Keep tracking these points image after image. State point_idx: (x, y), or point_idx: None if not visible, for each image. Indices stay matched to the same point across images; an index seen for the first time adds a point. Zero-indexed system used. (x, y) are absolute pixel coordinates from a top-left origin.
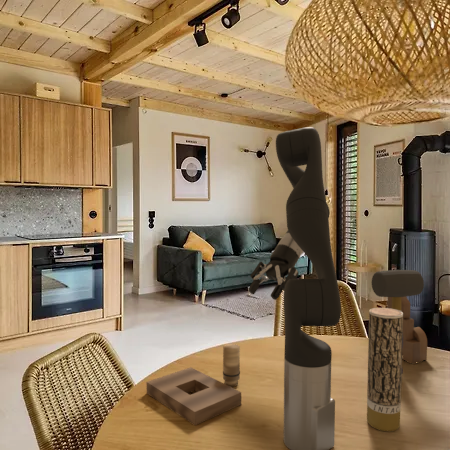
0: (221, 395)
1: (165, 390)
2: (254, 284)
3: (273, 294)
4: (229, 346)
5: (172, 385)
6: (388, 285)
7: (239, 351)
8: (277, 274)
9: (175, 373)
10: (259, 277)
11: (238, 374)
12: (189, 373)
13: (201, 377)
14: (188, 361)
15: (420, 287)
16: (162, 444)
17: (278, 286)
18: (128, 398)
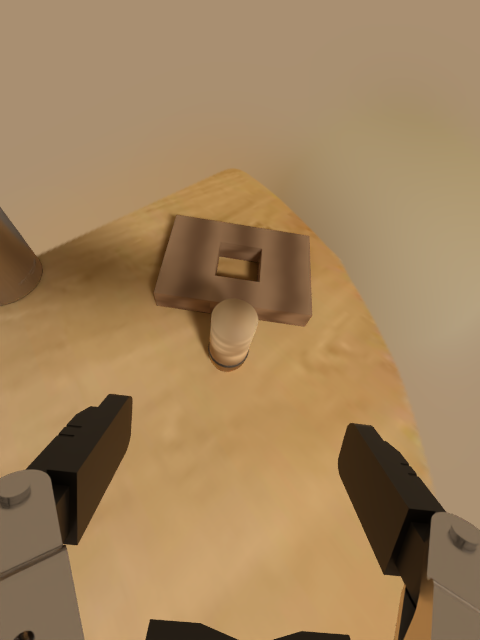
0: (176, 265)
1: (261, 232)
2: (380, 476)
3: (105, 403)
4: (241, 317)
5: (268, 248)
6: None
7: (213, 331)
8: (43, 626)
9: (306, 279)
10: (425, 568)
11: (208, 349)
12: (288, 293)
13: (257, 294)
14: (381, 383)
15: None
16: (181, 191)
17: (54, 472)
18: (306, 229)
